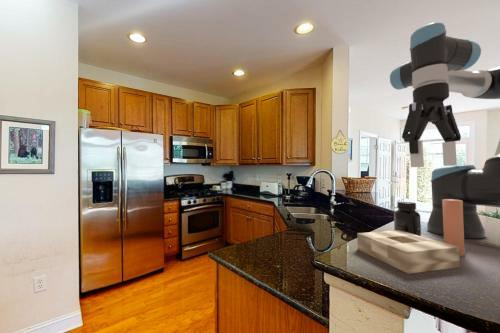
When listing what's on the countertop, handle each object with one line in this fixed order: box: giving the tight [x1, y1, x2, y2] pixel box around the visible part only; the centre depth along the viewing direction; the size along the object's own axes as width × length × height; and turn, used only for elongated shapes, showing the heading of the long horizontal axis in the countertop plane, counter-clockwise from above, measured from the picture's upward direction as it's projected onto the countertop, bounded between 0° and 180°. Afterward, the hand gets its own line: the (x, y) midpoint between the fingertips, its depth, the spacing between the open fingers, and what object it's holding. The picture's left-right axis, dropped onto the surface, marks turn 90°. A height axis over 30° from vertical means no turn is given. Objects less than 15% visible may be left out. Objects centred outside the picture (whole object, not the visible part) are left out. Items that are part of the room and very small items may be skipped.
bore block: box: [356, 230, 461, 275], centre depth 58 cm, size 14×16×4 cm
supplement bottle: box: [393, 201, 422, 236], centre depth 72 cm, size 7×7×12 cm
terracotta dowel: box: [442, 199, 466, 257], centre depth 60 cm, size 4×4×14 cm
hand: (434, 166), depth 60 cm, fingers open, 13 cm apart
